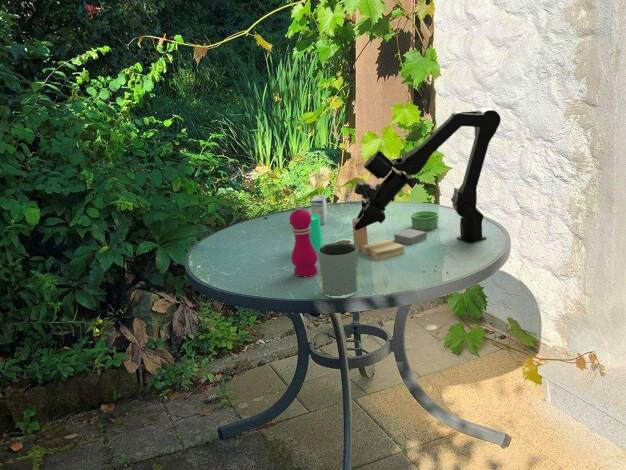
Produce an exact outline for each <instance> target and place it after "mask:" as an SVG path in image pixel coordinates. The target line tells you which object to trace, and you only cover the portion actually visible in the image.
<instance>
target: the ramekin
mask: <svg viewBox="0 0 626 470" xmlns="http://www.w3.org/2000/svg"><path fill="white" fill-rule="evenodd" d="M410 218H411V224H412V225H411V226H412V229H414V230H419V231H431V230H434V229H437V227H438V225H439V224H438V223H439V222H438V221H439V213H438V212H437V211H433V210H420V211H416V212H412V213H411V214H410Z"/></svg>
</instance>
